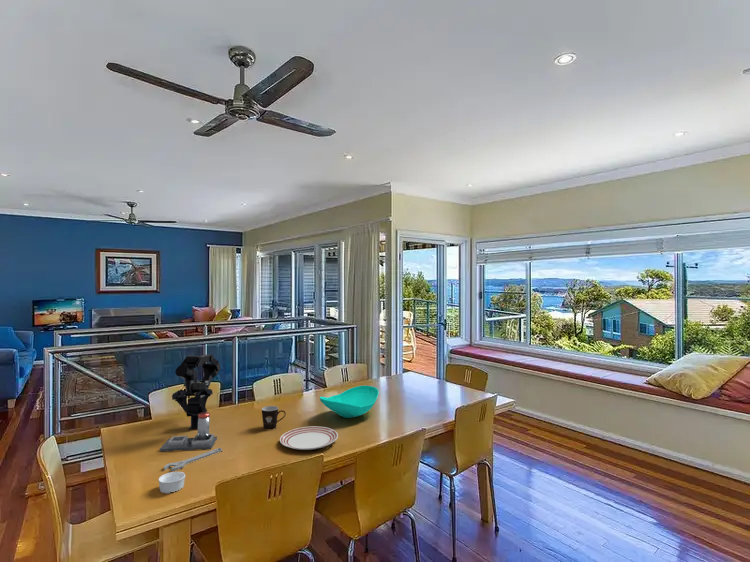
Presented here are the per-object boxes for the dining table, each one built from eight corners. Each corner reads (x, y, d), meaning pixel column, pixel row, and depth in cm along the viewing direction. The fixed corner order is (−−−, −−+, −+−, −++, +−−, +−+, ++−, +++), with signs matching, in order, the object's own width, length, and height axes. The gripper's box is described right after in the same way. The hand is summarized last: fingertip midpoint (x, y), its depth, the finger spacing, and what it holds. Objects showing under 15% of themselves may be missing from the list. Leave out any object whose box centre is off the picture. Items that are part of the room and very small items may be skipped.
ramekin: (167, 482, 156) (167, 470, 156) (189, 483, 155) (190, 471, 155) (152, 494, 147) (153, 481, 147) (176, 495, 146) (176, 483, 146)
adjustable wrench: (219, 450, 186) (219, 447, 186) (227, 454, 182) (227, 450, 182) (162, 469, 167) (162, 465, 167) (169, 474, 162) (169, 469, 162)
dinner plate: (286, 458, 177) (286, 451, 177) (274, 436, 202) (275, 430, 202) (345, 449, 188) (346, 441, 188) (328, 429, 213) (328, 423, 213)
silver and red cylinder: (198, 439, 194) (199, 412, 194) (210, 439, 194) (210, 412, 195) (195, 443, 189) (196, 415, 189) (207, 443, 189) (208, 415, 190)
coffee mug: (257, 429, 212) (258, 409, 212) (267, 423, 220) (267, 405, 220) (277, 432, 208) (277, 412, 208) (286, 426, 216) (286, 407, 216)
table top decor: (342, 431, 210) (343, 405, 211) (307, 419, 228) (307, 395, 228) (390, 412, 241) (390, 390, 241) (355, 403, 259) (355, 382, 259)
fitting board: (168, 441, 195) (168, 434, 195) (217, 439, 198) (217, 432, 198) (159, 451, 183) (159, 444, 183) (211, 448, 186) (211, 441, 186)
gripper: (183, 374, 194) (187, 407, 188) (217, 374, 209) (221, 404, 203) (169, 383, 198) (173, 415, 192) (203, 382, 214) (208, 411, 208)
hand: (195, 411), depth 199 cm, fingers open, 9 cm apart
